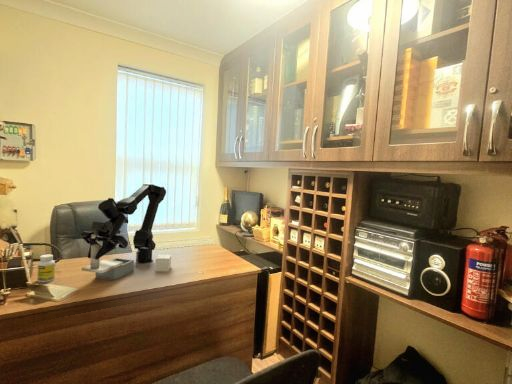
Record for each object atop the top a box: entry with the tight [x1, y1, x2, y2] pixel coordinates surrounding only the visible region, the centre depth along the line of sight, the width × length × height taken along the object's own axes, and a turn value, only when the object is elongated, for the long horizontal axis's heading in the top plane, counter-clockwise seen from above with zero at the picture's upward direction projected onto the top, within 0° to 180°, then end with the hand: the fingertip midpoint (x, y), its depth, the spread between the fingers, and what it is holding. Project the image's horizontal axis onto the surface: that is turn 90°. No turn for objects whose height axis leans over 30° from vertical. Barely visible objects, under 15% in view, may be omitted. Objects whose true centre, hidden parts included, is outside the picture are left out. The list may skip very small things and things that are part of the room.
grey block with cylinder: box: [81, 244, 123, 274], centre depth 112 cm, size 12×9×10 cm
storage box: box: [95, 257, 135, 281], centre depth 119 cm, size 12×9×5 cm
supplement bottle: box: [36, 253, 56, 283], centre depth 109 cm, size 5×5×10 cm
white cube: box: [154, 254, 172, 272], centre depth 129 cm, size 6×6×6 cm
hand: (92, 258), depth 106 cm, fingers closed on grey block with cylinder, 3 cm apart
